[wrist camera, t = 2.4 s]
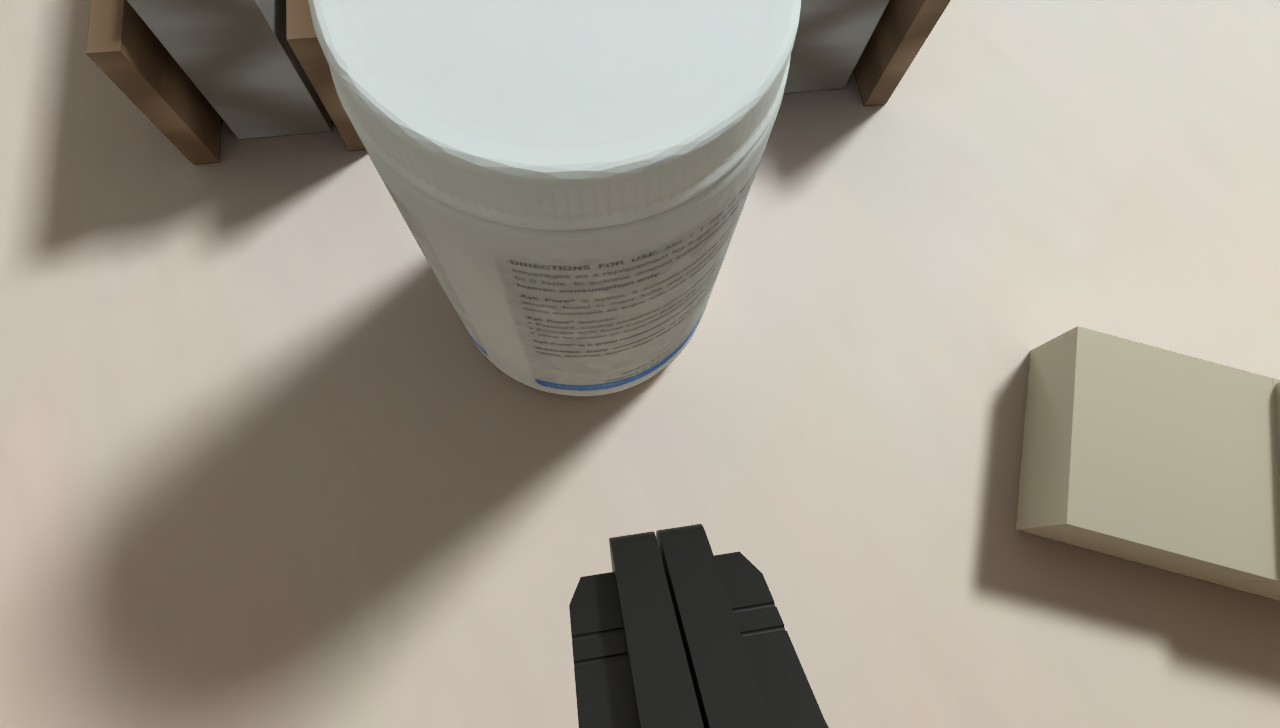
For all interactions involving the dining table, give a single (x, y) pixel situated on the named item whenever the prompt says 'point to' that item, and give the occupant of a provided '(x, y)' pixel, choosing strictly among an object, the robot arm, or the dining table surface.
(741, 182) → the supplement tub
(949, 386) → the dining table surface
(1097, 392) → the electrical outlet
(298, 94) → the rack
